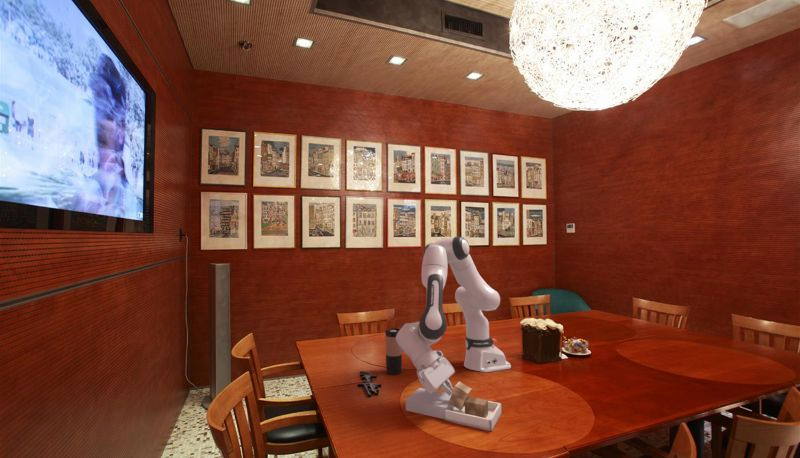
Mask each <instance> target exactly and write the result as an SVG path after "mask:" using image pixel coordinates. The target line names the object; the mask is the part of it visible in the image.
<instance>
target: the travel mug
mask: <svg viewBox="0 0 800 458" xmlns="http://www.w3.org/2000/svg"><path fill="white" fill-rule="evenodd" d="M399 329H400V328H397V327H392V328H391V329H385V363H386V364H385V368H386V374H388V375H389V376H397V375H400V374H402V368H403V367H402V366H403V364H402V361H403V358H402V357H403V350H402V349H401V348H400V346H399V345H398V343H397V341H396V334H397V332H398V330H399Z"/></svg>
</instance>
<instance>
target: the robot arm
mask: <svg viewBox="0 0 800 458" xmlns="http://www.w3.org/2000/svg"><path fill="white" fill-rule="evenodd" d="M470 249H471V247H470V244H469V242H468V240H467V239H466V238H465V237H463V236H454V237H449V238H444V239H440V240H437V241H435V242H430V243H428V244H426V245H425V246H424V248H423V250H422V251H423V254H422V255H423V258H422V264H421V283H422V285H423V286H424V287H425V288H426V289H425V290H426V297H425V298H426V299H425V309H424V312H423V314H422V315H421V316H420V319H419V321H416V322H410V323H409V322H406V323H404V324H403V325H401V327H400V328H398V329H399V330H398V332H397V334H396V341H397V343H398V345H399V346H400V348H401V349H402V353H404V354H405V355H406V356H407V357H408V358H409V359H410V360H411V363H412V364H413V366H414V367H415V368H416V375H417V377H418V378H417V379H418V381H419V383H420V384H421V385H422V387H423V388H424V389H425V390H426V391H427V392H428V393H429V394H432V393H433V392H434V391H437V389H439V388H440V390H442V392H445V393H447V394H448V395H449V396H450V395H451V394H452V392H453V390H454V387H453V386H452V383H451V380H449V378H450V377H452V376H453V375H454V374H455V373H456V371H455V368H454V367H453V365H452V364H451V362H450V361H449V360H448V359H447V358H446V357H444V354H443V352H442V351H441V350H433V349H432V347H431V346H432V345H434V344H437V342H439V341H440V340H441V339H442V336H443V335H444V334H445V333H446V331H447V320H446V317H445V314H444V311H443V300H444V298H443V296H444V295H443V292H444V289H445V286H446V283H447V278H448V268H449V267H450V269H451V271H452V273H453V274H452V275H453V276H454V277H455V280H456V282H457V284H458V285H460V286H459V287H458V288H457V289H456V290H455V294H454V298H455V302H456V304H458V305H459V307H460V308H461V311H462V313H463V317H464V320H465V331H466V333H465V335H466V336H465V342H464V343H465V348H466V351H465V358H464V363H463V366H464V367H465V368H466V369H468V370H471V371H475V372H476V371H477V372H481V373H490V372H498V371H503V370H504V371H505V370H509V369H511V368H512V365H511V363H510V362H509V361H508V360H506V355H505V354H504V352H503V351H502V350H501V349H499V347H497V346H496V345H495V344H496V343H497V339H495V338H492V337H491V336H490V323H489V321H488V318H487V317H486V316H484V313H483V312H482V311H485V312H489V311H495V310H497V308H499V307H500V303H501V296H500V294H499V292H498V291H497V290H495V289H493V288H492V287H491V286H490V285H489V284H487V282H486V281H485V280H484V278H482V276H481V275H480V273H479V272H478V270H477V269H478V268H477V267H476V265H475V263H474V261H473V259H472V256H471V254H470V253H471V252H470V251H471V250H470ZM448 264H449V265H448ZM448 266H449V267H448Z"/></svg>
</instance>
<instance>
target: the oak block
mask: <svg viewBox="0 0 800 458" xmlns="http://www.w3.org/2000/svg"><path fill="white" fill-rule="evenodd" d="M453 388H454V390H453V392H452V395H451V397H450V400H449V402H448V403H450V404H451V405H453V406H454V407H456V408H457V409H459V410H460V411H461V410H462V409H463V407H464V406H465V400H466V399H467V398H468V397H470V393H471V392H472V388H471V387H469V386H468V385H466V384H464V383H463V382H461V381H458V382H457V383H456V384H455V385H454V387H453Z"/></svg>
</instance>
